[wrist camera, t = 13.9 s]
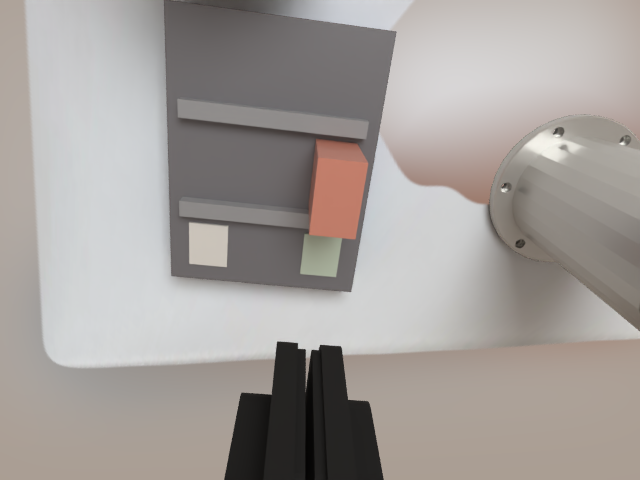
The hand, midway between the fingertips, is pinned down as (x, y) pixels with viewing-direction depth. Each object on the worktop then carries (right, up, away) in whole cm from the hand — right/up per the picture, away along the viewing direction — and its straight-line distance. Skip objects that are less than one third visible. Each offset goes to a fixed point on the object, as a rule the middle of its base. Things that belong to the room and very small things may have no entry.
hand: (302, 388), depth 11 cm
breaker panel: (-3, +11, +23) cm, 25 cm away
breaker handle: (+1, +9, +20) cm, 22 cm away
